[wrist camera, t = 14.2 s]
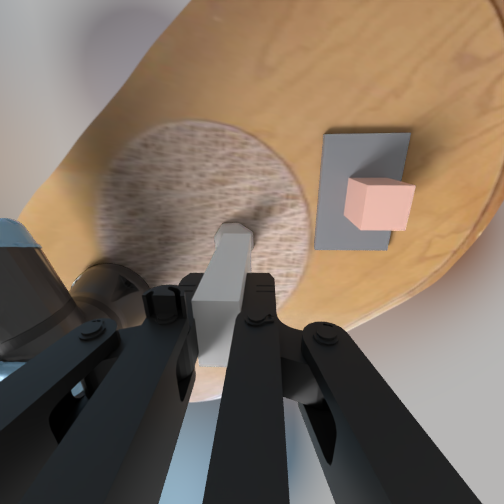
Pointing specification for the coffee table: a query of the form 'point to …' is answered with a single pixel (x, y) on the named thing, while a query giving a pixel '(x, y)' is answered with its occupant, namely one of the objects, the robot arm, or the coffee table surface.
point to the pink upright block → (378, 203)
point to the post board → (336, 181)
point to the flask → (232, 228)
